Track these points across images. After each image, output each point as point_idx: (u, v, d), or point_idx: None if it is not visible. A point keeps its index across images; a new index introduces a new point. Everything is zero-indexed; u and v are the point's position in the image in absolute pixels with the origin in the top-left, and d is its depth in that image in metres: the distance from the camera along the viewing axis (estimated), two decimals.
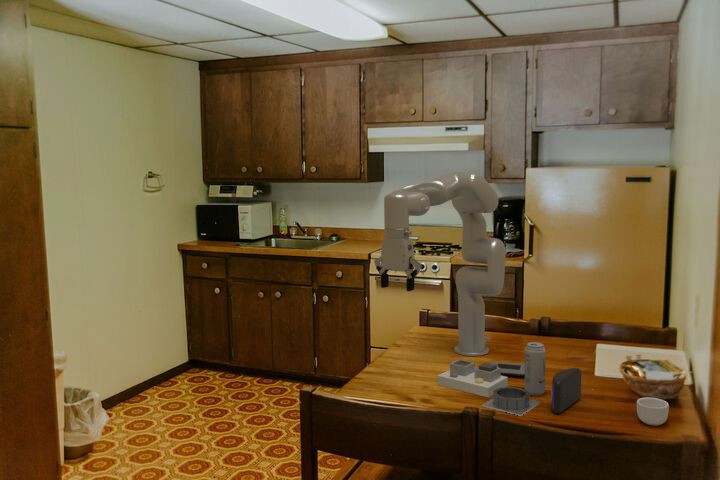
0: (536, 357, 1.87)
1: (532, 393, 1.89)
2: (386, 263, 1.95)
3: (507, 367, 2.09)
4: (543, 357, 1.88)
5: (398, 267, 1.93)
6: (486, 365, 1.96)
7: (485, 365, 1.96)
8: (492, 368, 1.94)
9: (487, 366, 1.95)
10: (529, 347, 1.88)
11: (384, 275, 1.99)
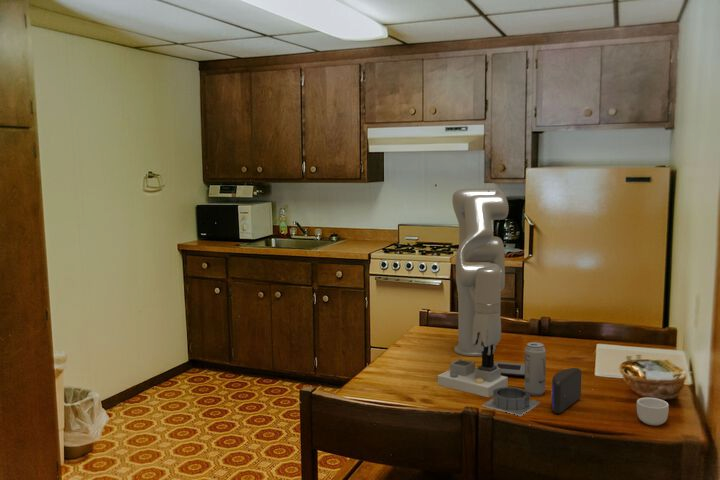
0: (536, 357, 1.87)
1: (532, 393, 1.89)
2: (490, 339, 1.91)
3: (507, 367, 2.09)
4: (543, 357, 1.88)
5: (497, 339, 1.95)
6: None
7: None
8: (492, 369, 1.94)
9: (487, 367, 1.95)
10: (529, 347, 1.88)
11: None
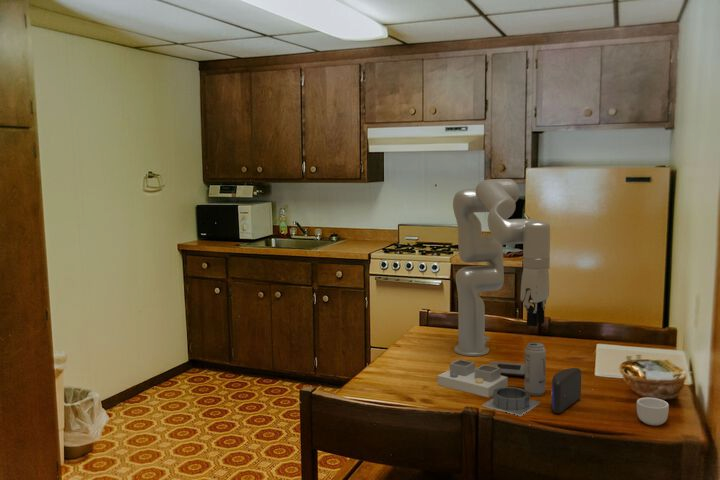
0: (536, 357, 1.87)
1: (532, 393, 1.89)
2: (539, 295, 1.84)
3: (507, 367, 2.09)
4: (543, 357, 1.88)
5: (545, 296, 1.88)
6: (486, 369, 1.96)
7: (485, 369, 1.96)
8: None
9: (487, 370, 1.95)
10: (529, 347, 1.88)
11: None
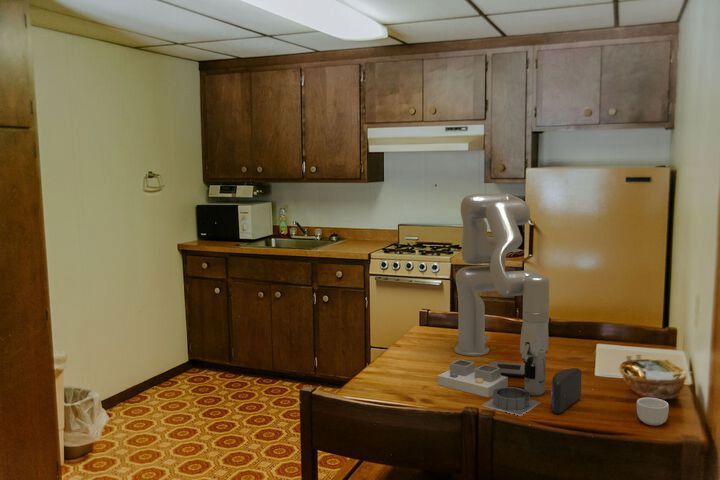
0: (536, 357, 1.87)
1: (532, 393, 1.89)
2: (538, 349, 1.86)
3: (507, 367, 2.09)
4: (543, 357, 1.88)
5: None
6: (486, 369, 1.96)
7: (485, 369, 1.96)
8: None
9: (487, 370, 1.95)
10: None
11: None
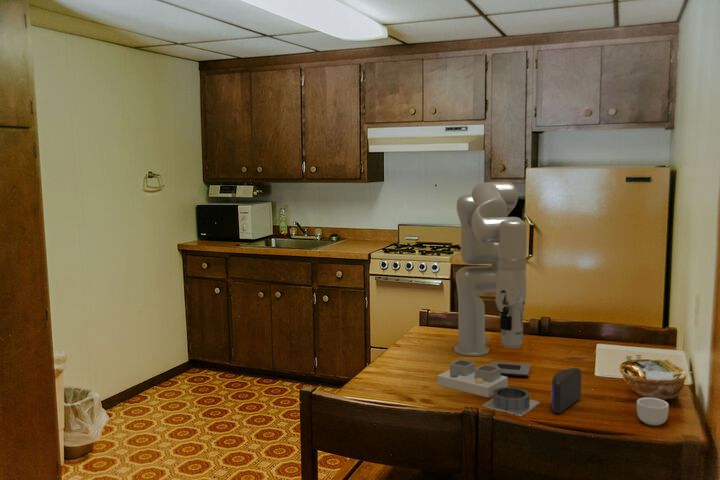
0: (513, 306, 1.76)
1: (509, 345, 1.78)
2: (515, 298, 1.75)
3: (507, 367, 2.09)
4: (520, 307, 1.76)
5: (522, 298, 1.79)
6: (486, 369, 1.96)
7: (485, 369, 1.96)
8: None
9: (487, 370, 1.95)
10: None
11: None
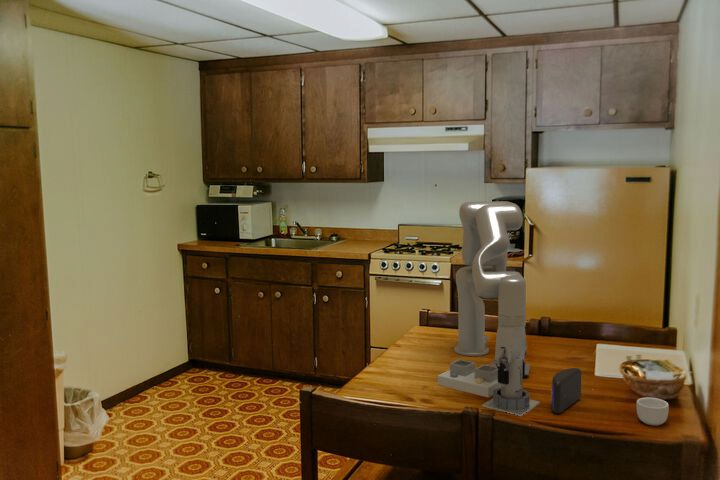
0: (512, 365, 1.78)
1: None
2: (514, 354, 1.77)
3: None
4: (520, 365, 1.79)
5: (521, 353, 1.80)
6: (486, 369, 1.96)
7: (485, 369, 1.96)
8: None
9: (487, 370, 1.95)
10: None
11: None
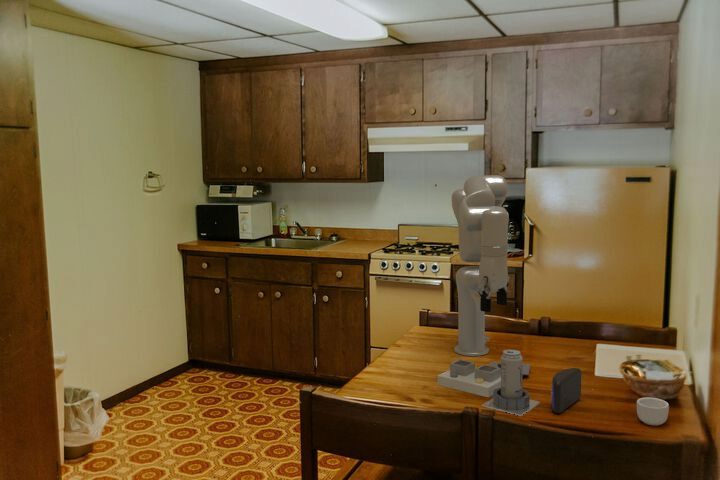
0: (512, 365, 1.78)
1: None
2: (497, 283, 1.85)
3: None
4: (520, 365, 1.79)
5: (503, 284, 1.88)
6: (486, 369, 1.96)
7: (485, 369, 1.96)
8: None
9: (487, 370, 1.95)
10: (505, 355, 1.80)
11: None
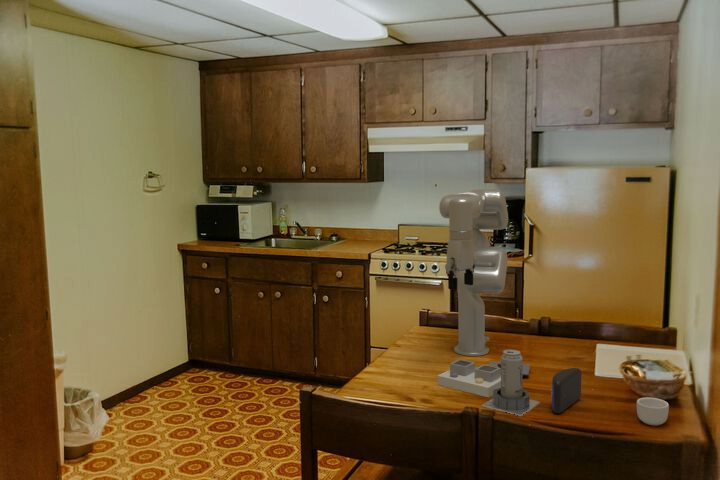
0: (512, 365, 1.78)
1: None
2: (462, 264, 2.06)
3: None
4: (520, 365, 1.79)
5: (469, 265, 2.10)
6: (486, 369, 1.96)
7: (485, 369, 1.96)
8: None
9: (487, 370, 1.95)
10: (505, 355, 1.80)
11: None
